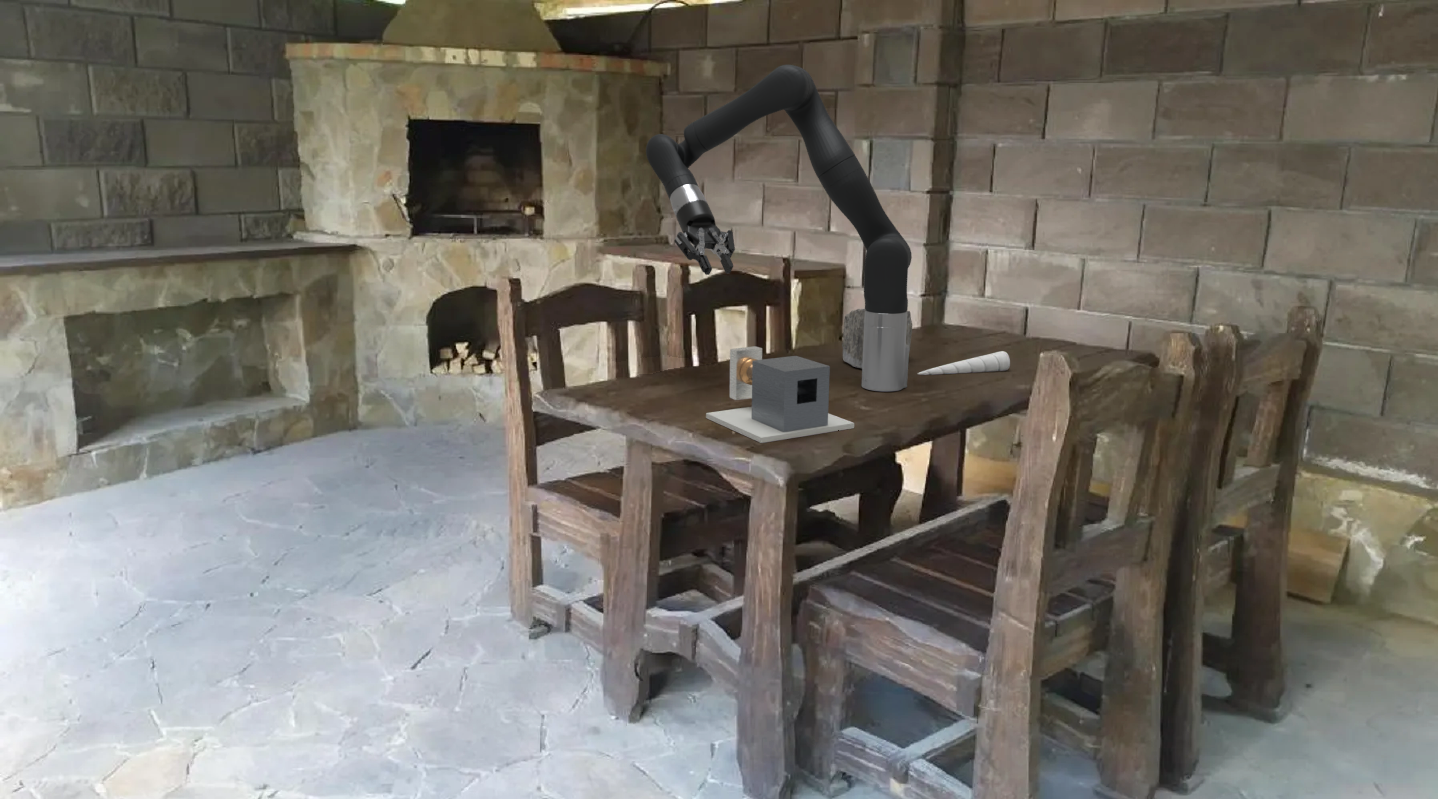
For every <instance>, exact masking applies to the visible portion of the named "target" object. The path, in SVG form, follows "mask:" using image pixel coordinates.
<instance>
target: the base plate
mask: <svg viewBox="0 0 1438 799" xmlns="http://www.w3.org/2000/svg"><path fill="white" fill-rule="evenodd" d="M705 418H706V419H708V420H710V421H712V422H714V423H716V424H718V425H721V426H722V427H725V428H727V429H730V430H732V431H734V432H736V433H738V434H741V435H742V436H745V437H747V438H749V439H751V440H753V441H756V442H757V443H760V444H764V443H770V442H776V441H783V440H787V439H794V438H800V437H807V436H813V435H814V436H815V435H819V434H826V433H833V432H838V430H839V431H844V430H850V429H855V422H852V421H850V420H847V419H844V418H841V417H839V416H836V415H834V414H831V413H829V412H828V426H821V427H815V428H809V429H802V430H796V431H789V432H781V431H779V430H777V429H774V428H772V427H770V426H767V425H765V424H763V423H760V422H758V421H755V420H753V419H752V406H747V407H741V408H740V407H739V408H732V409H725V410H720V411H719V410H718V411H712V412H706V413H705Z"/></svg>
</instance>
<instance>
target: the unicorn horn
mask: <svg viewBox="0 0 1438 799" xmlns="http://www.w3.org/2000/svg"><path fill="white" fill-rule="evenodd" d="M1010 366H1011V360H1010V355H1009V354H1008V353H1007V352H1006V351H1003V350H1001V351H996V352H993V353H988V354H984V355H980V356H975V357H972V358H967V359H963V360H959V361H955V362H951V363H947V364H943V365H940V366H936V367H932V368H928V369H926V370H925V369H924V370H922V371H920V372H917V375H919V376H920V375H921V376H930V375H931V376H932V375H933V376H935V375H943V374H945V375H954V374H955V375H956V374H969V373H987V372H989V373H990V372H1005V371H1008V370H1009V368H1010Z"/></svg>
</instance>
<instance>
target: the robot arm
mask: <svg viewBox="0 0 1438 799" xmlns="http://www.w3.org/2000/svg"><path fill="white" fill-rule="evenodd" d="M783 110H784V111H785V113H786V115H788V117H789V118H790V120H791V121H792V123H793V124H794V125H795V127H796V128H797V130H798V132H799V134H800V135H801V138H802V140H803V142H804V146H805V148H806V152H807V155H808V158H809V160H810V164H811V167H812V168H813V171H814V173H815V175H816V177H817V179H818V180H819V182H820V184H821V186H822V187H823V189H824V191H825V192H826V194H827V196H828V197H829V198H830V200H831V201H832V202H833V204H834V205H835V206H836V208H838V210H839V211H840V212H841V213H842V214H843V215H844V216H845V218H847V220H848V221H849V222H850V223H851V225H852V226H853V227H854V228H855V231H856V232H857V234H858V236H859V238H860V239H861V240H860V241H861V242H862V243H863V245H864V248H865V251H866V252H865V257H864V270H863V272H864V273H863V300H864V309H865V316H864V341H863V364H862V368H861V387H862V388H863V389H866V390H869V391H875V392H898V391H901V390H903V389H904V388H905V389H906V388H907V387H908V375H909V361H908V359H910V358H909V356H910V355H909V354H910V351H909V346H908V345H907V344H906V329H907V311H909V310H908V306H909V305H908V304H909V301H908V300H909V299H908V275H909V274H908V273H909V267H910V265H911V263H912V258H913V257H912V250H911V247H910V246H909V244H908V242H907V241H906V240H905V238H904V236H902V233H900V232H899V231H898V229H897V228H896V226H895V225H894V224H893V222H892V221H891V219H890V218H889V216H888V215H887V213H886V212H885V210H884V208H883V206H882V204H881V202H880V200H879V198H878V196H877V194H876V191H875V189H874V187H873V185H872V183H871V181H870V179H869V177H868V176H867V173H866V172H865V170H864V168H863V166H862V164H861V163H860V161H859V159H858V158H857V156H856V154H855V152H854V151H853V150H852V148H851V146H850V144H849V143H848V142H847V139H846V138H845V137H844V136H843V134H842V132H841V131H840V129H839V128H838V127H837V126H836V124H835V122H834V121H833V119H832V118H831V116H830V114H829V113H828V111H827V109H826V107H825V105H824V103H823V100H822V98H821V96H820V93H819V91H818V88H817V87H816V85H815V82H814V79H813V78H812V76H811V75H810V73H809V72H808V71H807V70H806V69H804V68H803V67H800V66H797V65H794V64H782V65H779V66H777V67H776V68H774V69H773V70H772V71H771V72H769V74H767V75H766V76H765V77H764V78H762V79H761V80H760V81H758V82H757V83H756V84H755V85H753V87H751V88H749V89H748V90H747V91H746V92H744V93H742V94H741V95H739V96H737V97H736V98H734V99H733V100H731V101H729V102H727V103H726V104H724V105H722V106H720V107H718V108H716V109H714V110H713V111H711V112H709V113H707V114H705V115H703V116H702V117H700V118H698V119H696V120H694V121H693V122H691V123H690V124H687V126H685V128H684V130H683V137H684V140H682V142H680V143H678V142H677V141H675V140H674V139H673V138H672V137H670V136H669V135H667V134H664V133H659V134H655V135H653V136H651V137H650V139H648V141H647V143H646V147H645V154H646V159H647V160H648V161H647V162H648V164H649V165H650V167H651V168H652V170H653V172H654V173H655V175H656V176H657V178H658V179H659V180H660V181H661V183H662V186H664V190H665V192H666V194H667V196H668V199H669V201H670V204H671V205H670V206H671V208H672V210H673V213H674V215H675V217H676V220H677V222H678V226H679V227H680V229H681V231H682V232H681V231H678V232H677V234H676V236H675V239H674V241H673V242H674V243H675V244H676V246H677V247H678V248H679V250H681V252H682V253H683V254H684V256H685V258H687V260H688V261H692V260H695V261H696V262H697V263H698V265H699V267H700V270H701V271H702V273H704V275H705V276H709V275H710V274H711V272H712V271H713V266H712V265H711V263H710V261H709V258H708V256H707V255H706V253H705V249H707V250H710V251H711V252H712V253H713V255H716V256H717V257H718V258H719V260H720V263H721V266H722V269H723V270H724V273H725V274H730V273H731V272H732V271H733V268H734V264H733V261H732V259H731V258H732V256H733V254H734V252H735V251H736V248H735V240H734V239H735V238H734V232H733V231H732V230H730V229H729V230H727V231H721V229H720V228H719V227H718V226H717V225H716V219H715V217H714V214H713V212H712V209H711V208H710V205H709V203H708V201H707V199H706V197H705V195H704V193H703V192H702V190H701V189H700V186H699V184H698V182H697V181H696V178H695V176H694V174H693V173H692V171H691V170H690V169H689V168H690V167H691V166H692V165H693V164H694V163H696V162H697V161H698V159H700V158H701V157H702V156H703V154H704V153H706V152H709V151H710V150H712V149H714V148H717V147H718V146H720V145H721V144H724V143H725V142H727V141H729V140H730V139H731V138H734V136H736V135H737V134H739V133H740V132H741V131H743V129H745V128H746V127H748V126H750V124H752V123H755V122H756V121H757V120H761V118H764V117H766V116H770V115H771V114H774V113H777V112H780V111H783Z"/></svg>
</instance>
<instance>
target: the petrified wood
mask: <svg viewBox="0 0 1438 799" xmlns="http://www.w3.org/2000/svg"><path fill="white" fill-rule="evenodd" d="M864 316H865V308H857V309H854V310H850V312H849V313H846V314H845V315H844V320H843V321H844V322H843V328H842V343H841V347H842V359H843V361H844V363H847V364H849V365H850V366H852V367H855V368H858V369H862V364H863V341H864ZM912 333H913V320H912V316H911V312H910V310H907V329H906V344H907V345H908V346H909V352H910V350H911V341H912ZM909 359H910V358H909ZM909 359H908V362H909Z"/></svg>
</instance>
